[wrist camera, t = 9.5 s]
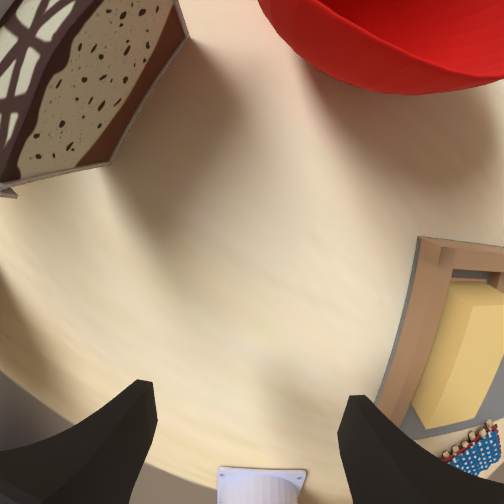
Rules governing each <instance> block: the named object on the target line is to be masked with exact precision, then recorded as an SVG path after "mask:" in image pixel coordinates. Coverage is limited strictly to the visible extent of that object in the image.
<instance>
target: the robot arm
mask: <svg viewBox="0 0 504 504" xmlns="http://www.w3.org/2000/svg"><path fill="white" fill-rule="evenodd" d="M157 422H158V419H157V412H156V405H155V397H154V389H153V382H149V381H144V380H138V379H137V380H136V381H134V382H133V383H132V384H131V385H129V386H128V387H127V388H126V389H125V390H123V391H122V392H121V393H120V394H118V395H117V396H116V397H115V398H113V399H112V400H111V401H110V402H108V403H107V404H106V405H104V406H103V407H102V408H100V409H99V410H98V411H96V412H95V413H93V414H92V415H90V416H89V417H87V418H86V419H84V420H83V421H81V422H80V423H78V424H76V425H75V426H73V427H71V428H69V429H67V430H65V431H63V432H61V433H59V434H57V435H55V436H52V437H49V438H47V439H45V440H42V441H39V442H37V443H33V444H30V445H27V446H23V447H19V448H16V449H11V450H5V451H0V504H129V500H130V496H131V493H132V490H133V487H134V485H135V482H136V480H137V477H138V475H139V473H140V470H141V468H142V465H143V463H144V461H145V458H146V456H147V453H148V451H149V449H150V446H151V444H152V441H153V437H154V433H155V430H156V426H157ZM337 434H338V442H339V449H340V456H341V459H342V463H343V467H344V470H345V474H346V477H347V481H348V485H349V488H350V492H351V495H352V499H353V504H504V484H503V483H498V482H495V481H491V480H487V479H483V478H480V477H477V476H475V475H472V474H469V473H467V472H464V471H462V470H460V469H458V468H456V467H454V466H452V465H450V464H448V463H446V462H444V461H442V460H441V459H439V458H437V457H436V456H434V455H433V454H431V453H430V452H428V451H426V450H425V449H424V448H422V447H421V446H419V445H418V444H417V443H416V442H414V441H413V440H412V439H411V438H409V437H408V436H407V435H406V434H405V433H404V432H402V431H401V430H400V429H399V428H398V427H397V426H396V425H395V424H394V423H393V422H392V421H390V420H389V419H388V418H387V417H386V416H385V415H384V414H383V413H382V412H381V411H380V410H379V409H378V408H377V407H376V406H375V405H374V404H373V403H372V402H371V401H370V400H369V399H368V398H367V397H366V396H365V395H351V396H349V399H348V402H347V405H346V408H345V412H344V415H343V418H342V421H341V424H340V426H339V429H338V432H337ZM305 478H306V471H305V470H265V469H245V468H232V467H219V468H218V472H217V483H218V504H298V503H297V499H298V497H299V494H300V491H301V489H302V486H303V483H304V481H305Z"/></svg>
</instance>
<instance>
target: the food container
mask: <svg viewBox="0 0 504 504" xmlns="http://www.w3.org/2000/svg"><path fill="white" fill-rule="evenodd" d="M189 37H190V36H189V33H188V30H187V27H186V23H185V20H184V17H183V14H182V11H181V8H180V5H179V2H178V0H0V197H6V198H15V199H17V197H18V195H17V194H16V193H15V192H14V191H13V190H12V189H11V188H10V187H14V186H17V185H21V184H25V183H29V182H33V181H37V180H41V179H45V178H49V177H54V176H58V175H63V174H67V173H72V172H77V171H82V170H87V169H92V168H97V167H102V166H108V165H111V163H112V161H113V159H114V157H115V155H116V153H117V151H118V149H119V147H120V145H121V143H122V142H123V140H124V138H125V136H126V134H127V132H128V131H129V129H130V127H131V125H132V124H133V122H134V120H135V118H136V117H137V115H138V113H139V112H140V110H141V108H142V107H143V105H144V103H145V102H146V100H147V98H148V97H149V95H150V94H151V92H152V90H153V89H154V87H155V86H156V84H157V83H158V81H159V80H160V78H161V77H162V75H163V74H164V72H165V71H166V69H167V68H168V66H169V65H170V63H171V62H172V60H173V59H174V58H175V56H176V55H177V53H178V52H179V51H180V49H181V48H182V46H183V45H184V44H185V42H186V41H187V40H188V38H189Z"/></svg>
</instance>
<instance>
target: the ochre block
mask: <svg viewBox="0 0 504 504" xmlns="http://www.w3.org/2000/svg"><path fill="white" fill-rule="evenodd" d="M503 355H504V293H502V292H500V291H499V290H497V289H495V288H494V287H492V286H490V285H488V284H487V283H485V282H483V281H453V280H450V284H449V288H448V293H447V297H446V300H445V304H444V308H443V312H442V315H441V319H440V322H439V325H438V329H437V332H436V335H435V338H434V341H433V345H432V348H431V351H430V353H429V356H428V359H427V362H426V365H425V368H424V370H423V373H422V376H421V378H420V381H419V383H418V386H417V388H416V391H415V393H414V396H413V398H412V400H411V404H412V406H413V408H414V409H415V411H416V413H417V415H418V416H419V418H420V420H421V422H422V423H423V425H424V427H425V429H431V428H436V427H440V426H445V425H449V424H453V423H457V422H461V421H465V420H469V419H473V418H474V417H475V416H476V414H477V412H478V410H479V408H480V406H481V404H482V402H483V400H484V398H485V396H486V394H487V392H488V390H489V387H490V385H491V383H492V381H493V379H494V376H495V374H496V372H497V369H498V367H499V365H500V362H501V360H502V357H503Z"/></svg>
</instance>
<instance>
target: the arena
mask: <svg viewBox="0 0 504 504" xmlns="http://www.w3.org/2000/svg"><path fill="white" fill-rule="evenodd" d="M450 280H453V281H483V282H485V283H487V284H488V285H490V286H492V287H494V288H495V289H497V290H499V291H500V292H502V293H504V247H499V246H492V245H485V244H477V243H470V242H462V241H454V240H446V239H438V238H430V237H422V236H418V238H417V244H416V250H415V256H414V261H413V266H412V272H411V276H410V281H409V286H408V291H407V295H406V299H405V304H404V308H403V312H402V316H401V320H400V324H399V327H398V331H397V335H396V338H395V342H394V345H393V349H392V352H391V355H390V359H389V362H388V365H387V368H386V371H385V374H384V377H383V380H382V383H381V386H380V389H379V392H378V395H377V398H376V400H375V403H374V405H375V406H376V407H377V408H378V409H379V410H380V411H381V412H382V413H383V414H384V415H385V416H386V417H387V418H388V419H389V420H390V421H392V422H393V423H394V424H395V425H396V426H397V427H398V428H399V429H400V430H401V431H402V432H404V433H405V434H406V435H407V436H408V437H409V438H411V439H412V440H417V439H423V438H428V437H433V436H438V435H442V434H447V433H451V432H455V431H460V430H463V429H467V428H471V427H475V426H478V425H482V424H485V423H486V422H487V420H488V419H490V420H492V421H495V420H498V419H501V418H503V417H504V355H503V357H502V360H501V362H500V365H499V367H498V369H497V372H496V374H495V376H494V379H493V381H492V383H491V385H490V387H489V390H488V392H487V394H486V396H485V398H484V400H483V402H482V404H481V406H480V408H479V410H478V412H477V414H476V416H475V417H474V418H473V419H469V420H465V421H461V422H457V423H453V424H449V425H445V426H440V427H436V428H431V429H425V427H424V425H423V423H422V422H421V420H420V418H419V416H418V415H417V413H416V411H415V409H414V408H413V406H412V404H411V400H412V398H413V396H414V393H415V391H416V388H417V386H418V383H419V381H420V378H421V376H422V373H423V370H424V368H425V365H426V362H427V359H428V356H429V353H430V351H431V348H432V345H433V341H434V338H435V335H436V332H437V329H438V325H439V322H440V319H441V315H442V312H443V308H444V304H445V300H446V297H447V293H448V288H449V284H450Z"/></svg>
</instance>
